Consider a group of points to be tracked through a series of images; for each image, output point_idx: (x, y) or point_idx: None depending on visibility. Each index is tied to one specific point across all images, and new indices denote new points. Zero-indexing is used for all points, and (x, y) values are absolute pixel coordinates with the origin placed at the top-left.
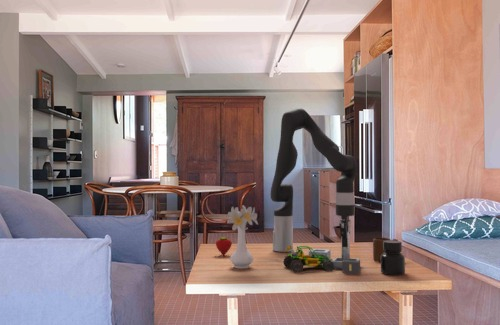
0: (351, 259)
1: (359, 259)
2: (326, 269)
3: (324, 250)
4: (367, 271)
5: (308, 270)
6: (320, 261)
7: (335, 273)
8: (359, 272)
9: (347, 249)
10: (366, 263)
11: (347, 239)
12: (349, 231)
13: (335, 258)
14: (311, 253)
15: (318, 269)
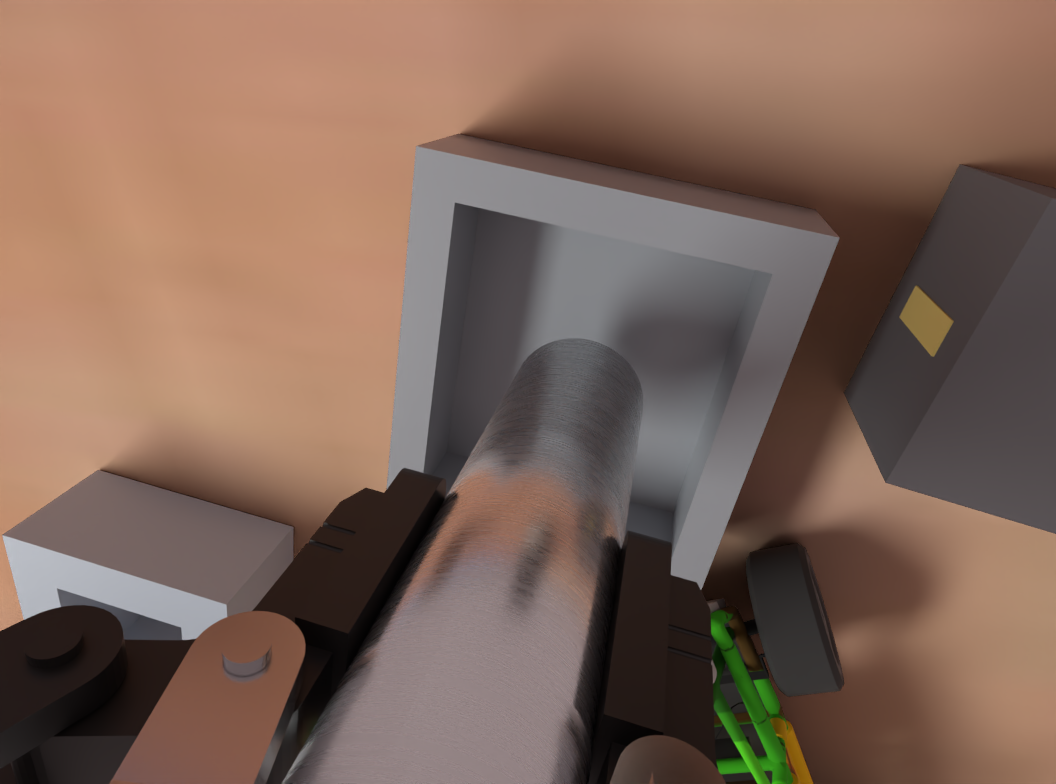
0: (448, 293)
1: (470, 156)
2: (823, 609)
3: (64, 596)
4: (906, 22)
5: None
6: (783, 736)
7: (1016, 525)
8: (1037, 184)
9: (622, 484)
10: (221, 3)
11: (633, 675)
12: (42, 713)
13: None
14: None
15: None
